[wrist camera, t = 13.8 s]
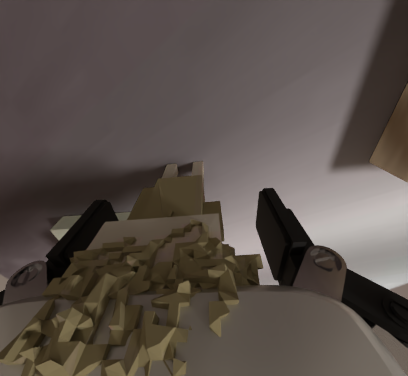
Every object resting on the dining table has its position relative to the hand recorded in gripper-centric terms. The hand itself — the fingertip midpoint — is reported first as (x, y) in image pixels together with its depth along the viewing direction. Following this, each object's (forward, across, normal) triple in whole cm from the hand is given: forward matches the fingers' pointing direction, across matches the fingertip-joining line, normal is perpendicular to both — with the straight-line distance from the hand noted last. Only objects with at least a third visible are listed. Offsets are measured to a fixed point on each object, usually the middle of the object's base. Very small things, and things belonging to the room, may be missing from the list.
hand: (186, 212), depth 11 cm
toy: (+6, 0, 0) cm, 6 cm away
